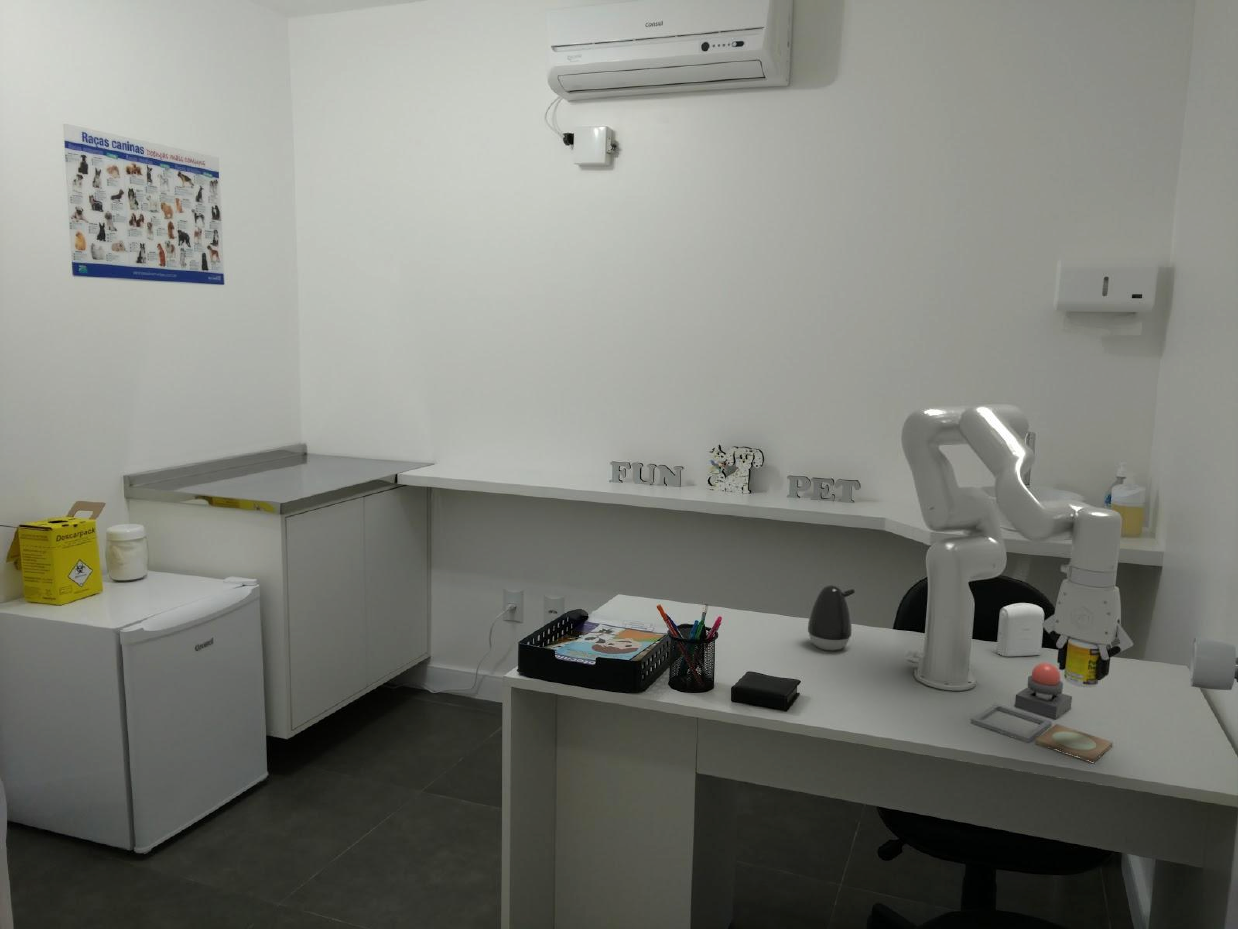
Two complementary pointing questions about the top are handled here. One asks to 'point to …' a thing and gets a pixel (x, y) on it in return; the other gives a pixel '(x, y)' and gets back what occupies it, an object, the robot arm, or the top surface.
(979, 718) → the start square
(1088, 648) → the supplement bottle
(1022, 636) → the photo printer
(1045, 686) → the dome cap
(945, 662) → the robot arm
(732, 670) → the top surface
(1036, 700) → the dome housing
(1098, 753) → the pad
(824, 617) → the pump dispenser
